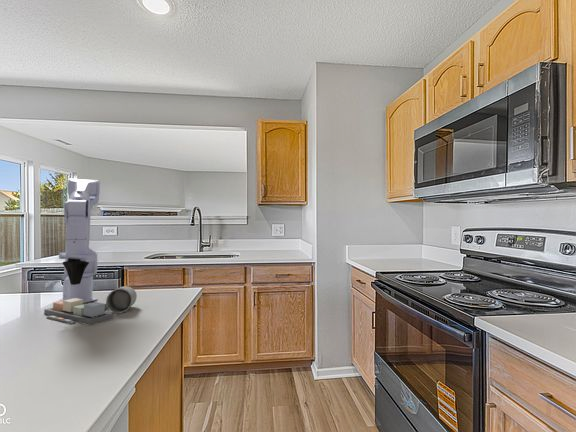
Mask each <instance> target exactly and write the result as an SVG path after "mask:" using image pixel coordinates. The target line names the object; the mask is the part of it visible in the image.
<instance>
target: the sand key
mask: <svg viewBox="0 0 576 432" xmlns="http://www.w3.org/2000/svg"><path fill="white" fill-rule="evenodd" d="M83 304H84V303H83V299H78V298H73V299H68V300H63V311H67V312H73V307H74V306H79V305H83Z"/></svg>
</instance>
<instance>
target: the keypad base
mask: <svg viewBox="0 0 576 432" xmlns="http://www.w3.org/2000/svg"><path fill="white" fill-rule="evenodd" d="M43 313H44V315H46V316H56V317H58V318H59V317H60V318H64V319H69V320H72V321H74V322H75V323H80V324H84V325H88V326H92V325H96V324H99V323H102V322H106V321H109V320H113V319H114V314H113V313H112V312H110V313H109V312H106V311H105V312H104V314H102V315H98V316H94V317H89V316H85V315H82V316H78V315H73V312H67V311H63V310H62V311H56V310H53V307H50V308H45V309H44V311H43Z"/></svg>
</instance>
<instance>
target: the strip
mask: <svg viewBox="0 0 576 432" xmlns="http://www.w3.org/2000/svg"><path fill="white" fill-rule="evenodd" d="M46 319H49V320H52V321H57V322H61V323H65V324H68V325H75V324H76V322H75V321H72V320H69V319H64V318H60V317H56V316H50V315H46Z"/></svg>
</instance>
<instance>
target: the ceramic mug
mask: <svg viewBox="0 0 576 432" xmlns="http://www.w3.org/2000/svg"><path fill="white" fill-rule="evenodd" d="M137 297H138V295H137V291H136V290H135V289H134V288H133V287H130V286H126V285H125V286H120V287H118V288H114V289H113V290H112V291H110V292H109V293H108V295H107V296H106V301H105V303H104V304H105V310H108V311H109V310H110V311H111V313H116V314H121V313H125V312H126V311H128V310H130V308H131V307H132V306H133V305H135V304H136V301H137Z"/></svg>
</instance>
